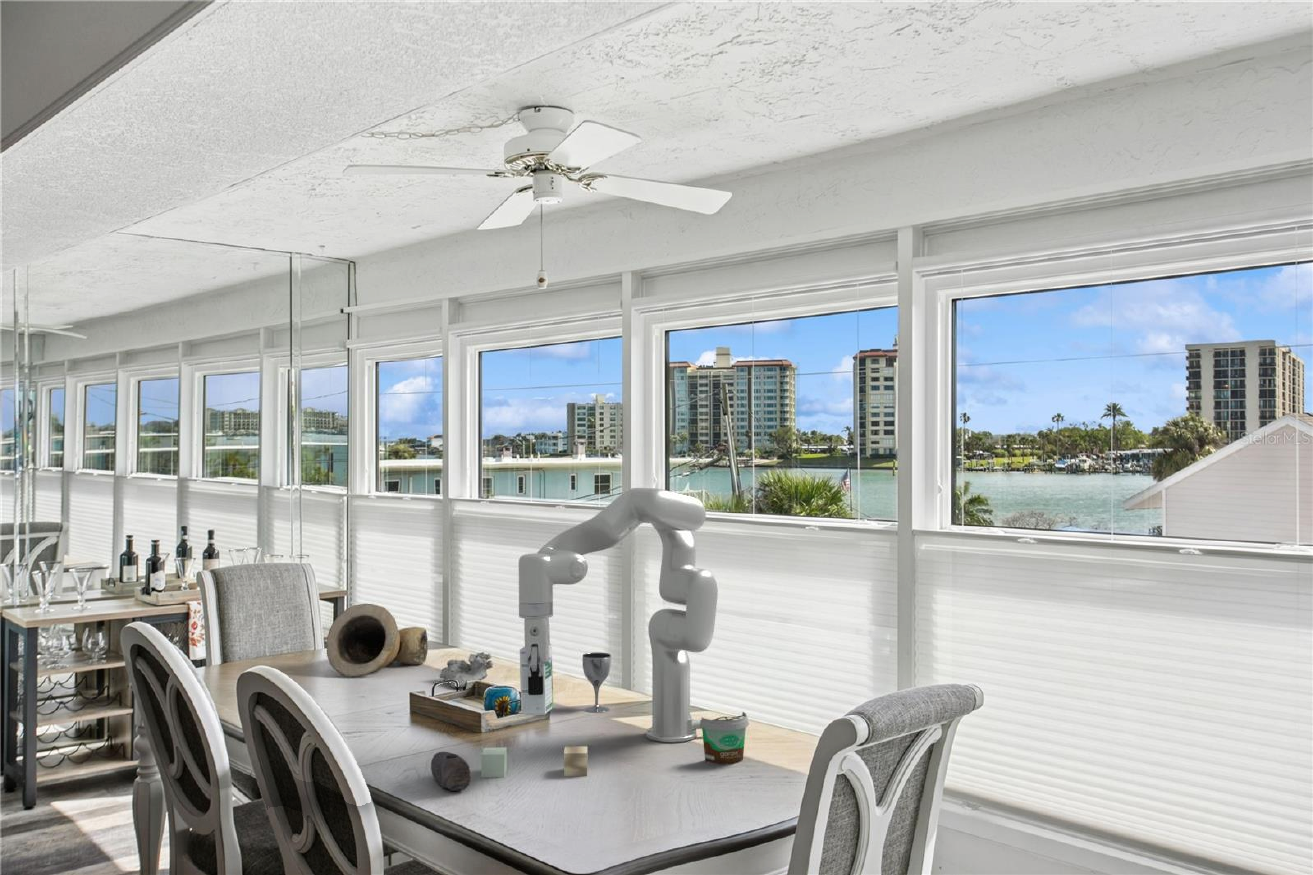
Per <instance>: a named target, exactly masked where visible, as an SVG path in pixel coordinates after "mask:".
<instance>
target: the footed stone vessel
mask: <svg viewBox="0 0 1313 875" xmlns="http://www.w3.org/2000/svg"><path fill="white" fill-rule="evenodd" d="M428 649H429V648H428V632H427V629H426V628H424V627H419V626H411V627H405V628H400V629H399V628H398V625H397V622H396V618H395V617H394V616H393V615H392V613H391V612H390V611H389V610H388V609H387V608H386V607H384V606H380V605H377V604H373V603H361V604H354V605H351V606H349V607H347V608H345V610H343V611H342V613H341V614H340V615H339V616H337V617H336V618H335V620H334V621H333V623H332V624H331V627H330V628H329V631H328V634H327V638H326V656H327V660H328V662H329V664H330V666H331V667H332V669H333V670H335V671H336V672H337V673H339V674H340V675H342V676H344V677H349V676H356V677H363V676H367V675H369V674H372V673H374V672H377V671H379V670H381V669H384V668H385V667H386V666H388V665H389V664H390V663H391V662H396V663H400V664H403V665H405V664H406V665H413V664H418V665H421V663H422V664H424V663H425V662H426V660H427V656H428ZM423 662H424V663H423Z"/></svg>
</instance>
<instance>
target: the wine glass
mask: <svg viewBox="0 0 1313 875" xmlns="http://www.w3.org/2000/svg"><path fill="white" fill-rule="evenodd" d="M611 665H612V654H611V653H608V652H602V651H601V652H599V651H597V652H596V651H593V652H587V653H584V654H582V670H583V674H584V676H585V678H586V679H587V681H589V683H590V684H591V685H592V687H593V690H594V699H595V700H594V702H595V703H594V705H591V706H587V707H584V708H583V710H584V712H587V713H595V714H599V713H600V714H601V713H606V712H608V711H610V708H609V707H608V706H605V705H603V706H602V705H600V704H599V692H600V688H601V686H602V685H603V683H604V682H605V681H606V679H607V678H608V676H609V674H610V671H611V667H612V666H611Z"/></svg>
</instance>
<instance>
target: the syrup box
mask: <svg viewBox="0 0 1313 875" xmlns="http://www.w3.org/2000/svg"><path fill="white" fill-rule="evenodd" d="M528 660H529V658H528ZM537 662H540V658H539V659H537ZM528 663H529V662H528ZM528 663H527V662H526V656H525V646H523V647H521V648H520V649H519V675H520V680H519V681H520V712H521V714H524V715H535V716H536V715H537V716H538V715H539V716H540V715H547V714H548V712H550V711H551V710H552V709H553V708H554V687H553V686H554V682H553V676H554V675H553V647H552V644H550V645H549V661H548V662H547V663H545V662H542V676H543V694H542V695H529V694H528V676H529V664H528ZM537 666H538V667H539V665H537Z"/></svg>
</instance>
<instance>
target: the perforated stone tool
mask: <svg viewBox="0 0 1313 875" xmlns="http://www.w3.org/2000/svg"><path fill="white" fill-rule="evenodd" d="M430 768H431V774H432V777H433V778H434V780H435V781H436V782H437V783H438V784H439V785H440V786H442V788H444V789H448V790H449V791H450V792H451V791H452V792H457V791H461V790H465V789H467V788H468V787H469V785H470V784H471V779H472V776H471V774H472V773H471V769H470V765H469V764H468V762H467V761H466V760H465V759H464V758H463V757H462V756H460V755H458V754H455V753H453V752H450V751H439V752H437V753H435V754H434V755H433V756H432V758H431V761H430Z"/></svg>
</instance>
